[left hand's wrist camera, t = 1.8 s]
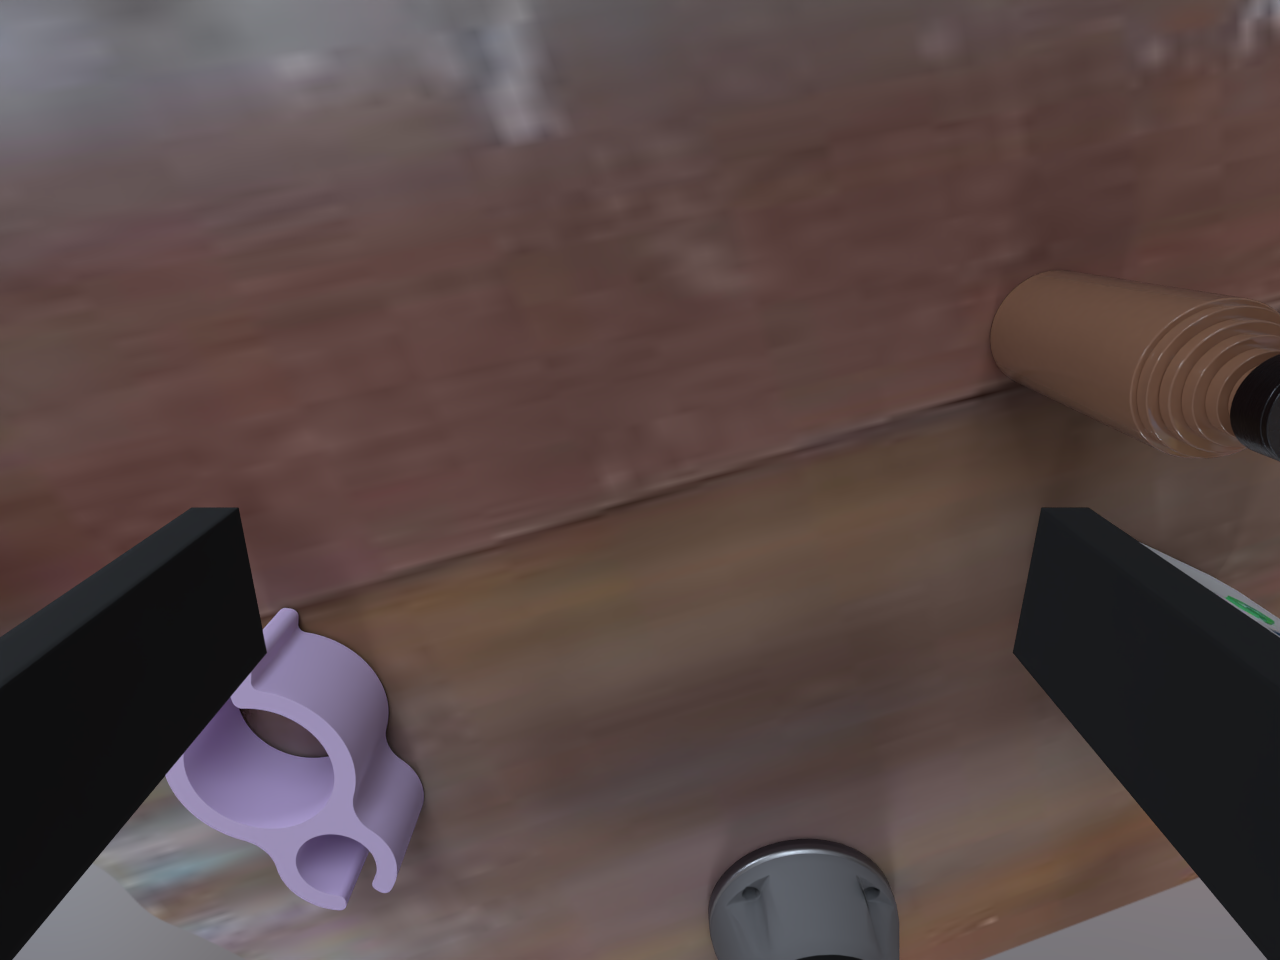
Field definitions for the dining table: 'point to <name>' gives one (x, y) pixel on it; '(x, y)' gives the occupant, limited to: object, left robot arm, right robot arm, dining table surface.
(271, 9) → the dining table surface
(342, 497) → the dining table surface
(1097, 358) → the bottle
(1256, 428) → the cap
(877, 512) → the dining table surface
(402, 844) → the clip
